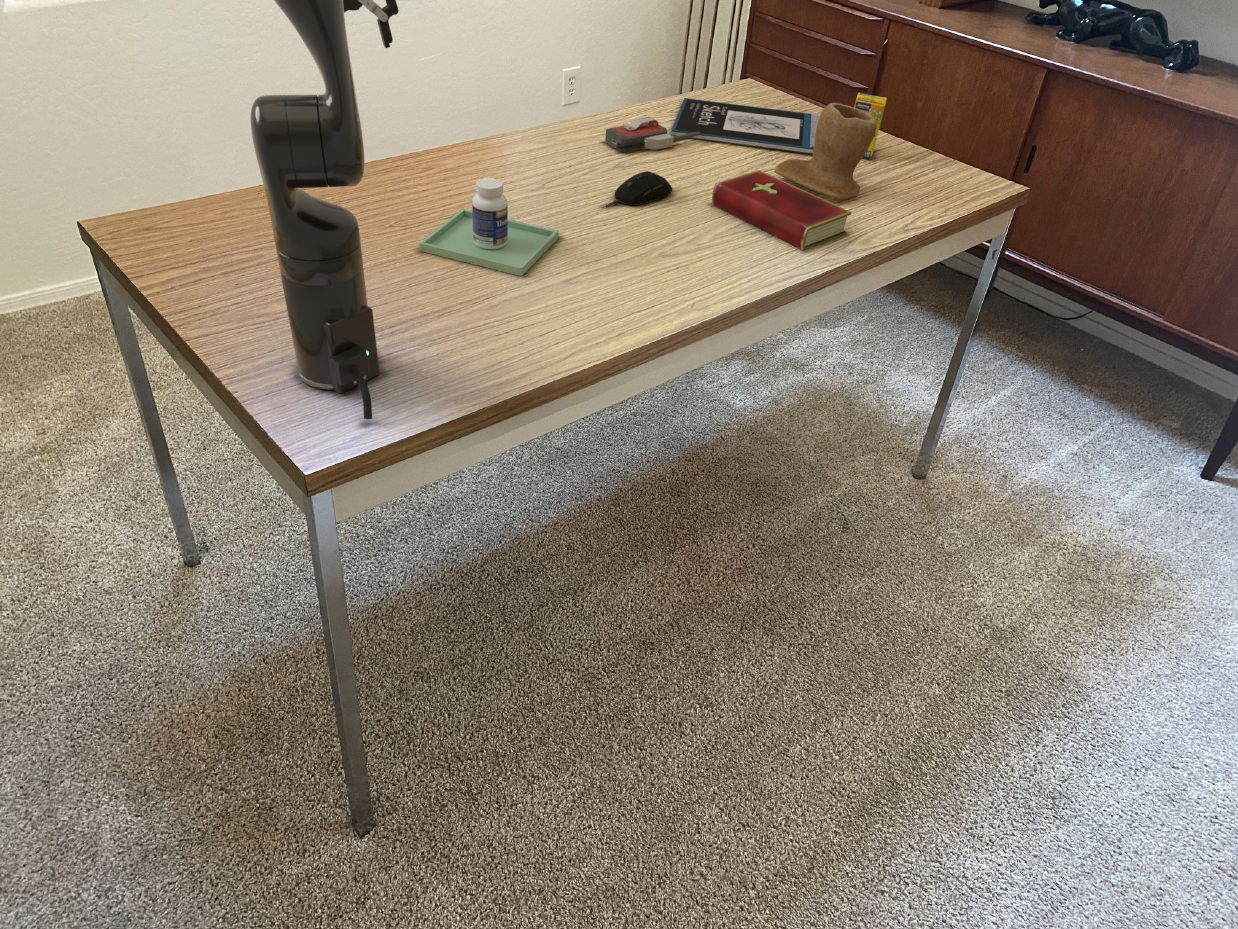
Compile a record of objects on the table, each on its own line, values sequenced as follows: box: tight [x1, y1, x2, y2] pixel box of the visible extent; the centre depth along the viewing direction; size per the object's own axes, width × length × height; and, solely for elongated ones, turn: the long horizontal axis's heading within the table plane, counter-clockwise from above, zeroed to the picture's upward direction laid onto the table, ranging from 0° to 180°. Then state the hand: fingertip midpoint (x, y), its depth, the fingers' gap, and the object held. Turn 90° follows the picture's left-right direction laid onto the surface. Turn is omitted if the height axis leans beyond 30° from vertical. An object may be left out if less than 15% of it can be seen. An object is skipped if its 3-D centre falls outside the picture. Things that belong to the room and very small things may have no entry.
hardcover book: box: [711, 169, 853, 252], centre depth 156 cm, size 12×21×4 cm, turn 42°
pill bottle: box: [471, 177, 509, 249], centre depth 138 cm, size 5×5×10 cm
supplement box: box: [853, 92, 888, 161], centre depth 181 cm, size 6×6×11 cm
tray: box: [418, 208, 559, 277], centre depth 141 cm, size 17×14×1 cm
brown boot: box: [773, 102, 877, 200], centre depth 165 cm, size 15×12×15 cm
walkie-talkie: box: [604, 116, 701, 153], centre depth 179 cm, size 9×4×20 cm
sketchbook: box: [670, 97, 820, 156], centre depth 191 cm, size 22×30×2 cm
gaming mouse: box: [605, 170, 673, 208], centre depth 158 cm, size 6×15×4 cm, turn 133°
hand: (359, 52), depth 137 cm, fingers open, 8 cm apart
